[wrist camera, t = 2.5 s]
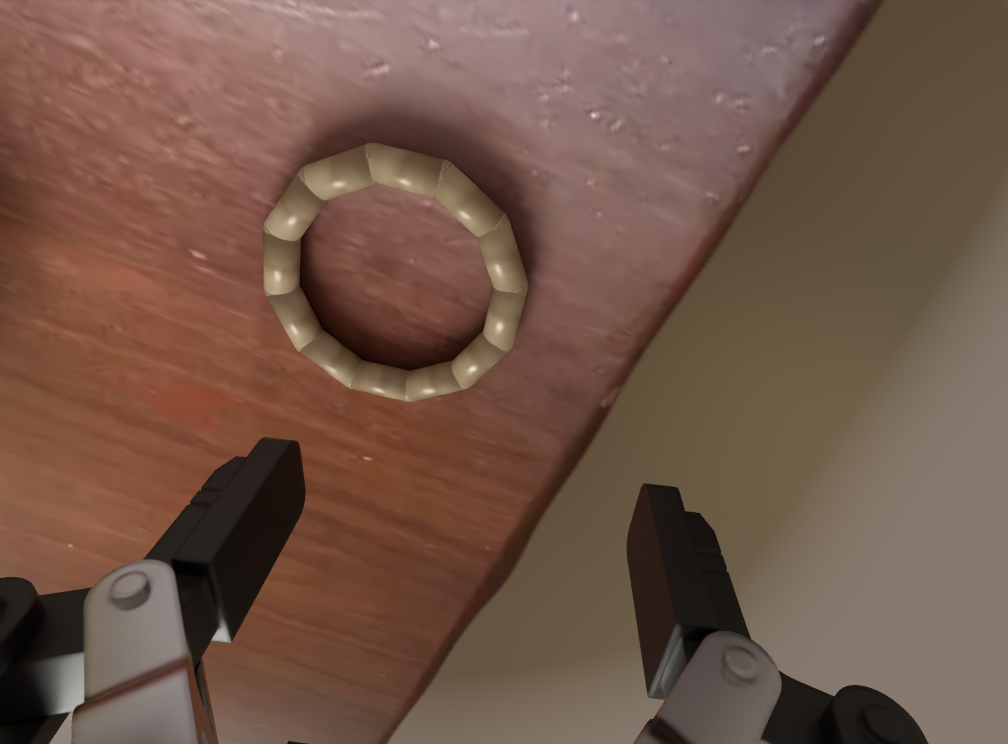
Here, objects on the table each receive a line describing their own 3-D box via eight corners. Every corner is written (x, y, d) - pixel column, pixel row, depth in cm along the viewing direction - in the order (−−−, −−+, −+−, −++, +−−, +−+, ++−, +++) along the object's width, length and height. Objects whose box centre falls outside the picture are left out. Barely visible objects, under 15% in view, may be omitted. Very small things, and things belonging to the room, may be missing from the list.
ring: (476, 104, 20) (470, 107, 18) (554, 359, 25) (554, 375, 23) (224, 193, 22) (204, 201, 21) (342, 408, 27) (331, 425, 26)
